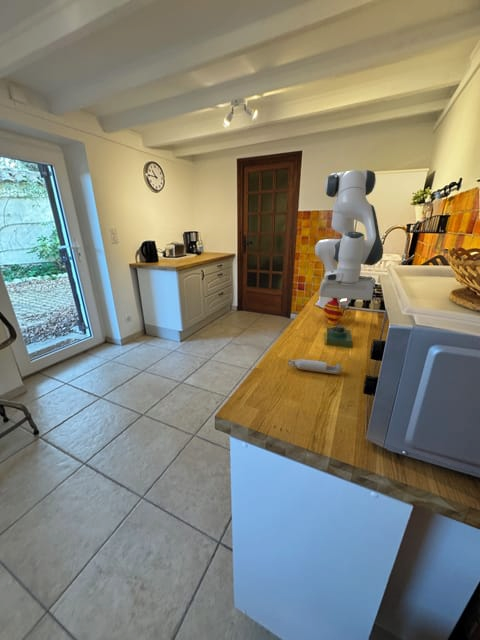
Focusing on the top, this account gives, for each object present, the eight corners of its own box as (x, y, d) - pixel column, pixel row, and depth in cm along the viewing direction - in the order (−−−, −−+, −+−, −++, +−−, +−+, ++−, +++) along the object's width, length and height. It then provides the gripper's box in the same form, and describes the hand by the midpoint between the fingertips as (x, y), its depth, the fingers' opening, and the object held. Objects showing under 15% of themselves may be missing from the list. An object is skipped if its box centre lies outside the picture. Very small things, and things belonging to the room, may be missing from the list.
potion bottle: (340, 318, 134) (344, 291, 129) (345, 326, 125) (350, 297, 119) (319, 318, 135) (323, 291, 130) (323, 325, 126) (327, 296, 120)
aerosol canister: (339, 370, 89) (342, 353, 87) (341, 377, 85) (344, 360, 82) (288, 363, 93) (289, 347, 91) (287, 370, 89) (288, 354, 87)
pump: (334, 328, 112) (335, 324, 111) (343, 329, 110) (344, 325, 110) (335, 331, 108) (335, 327, 108) (343, 332, 107) (344, 328, 107)
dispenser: (325, 333, 118) (327, 323, 116) (349, 335, 115) (350, 325, 113) (325, 344, 107) (327, 334, 105) (351, 347, 104) (353, 337, 103)
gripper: (375, 275, 100) (368, 308, 105) (321, 272, 106) (317, 303, 111) (378, 278, 95) (371, 313, 100) (321, 275, 100) (317, 308, 106)
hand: (342, 308), depth 106 cm, fingers closed
